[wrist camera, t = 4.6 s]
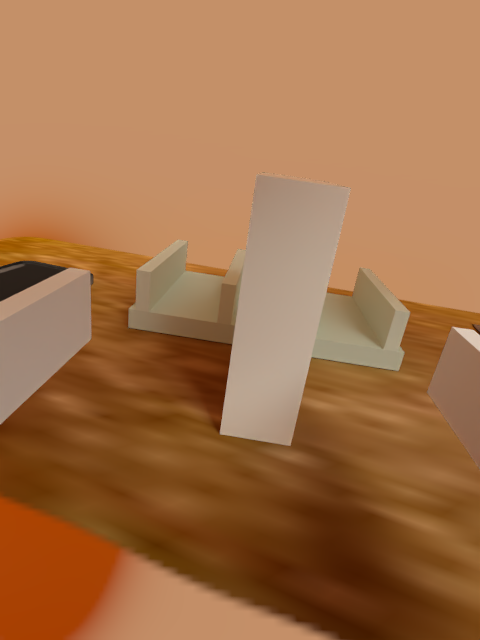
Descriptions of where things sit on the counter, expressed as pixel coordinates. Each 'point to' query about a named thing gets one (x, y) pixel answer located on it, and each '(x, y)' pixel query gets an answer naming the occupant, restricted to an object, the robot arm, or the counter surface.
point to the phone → (25, 276)
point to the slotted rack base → (222, 303)
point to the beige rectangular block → (280, 303)
